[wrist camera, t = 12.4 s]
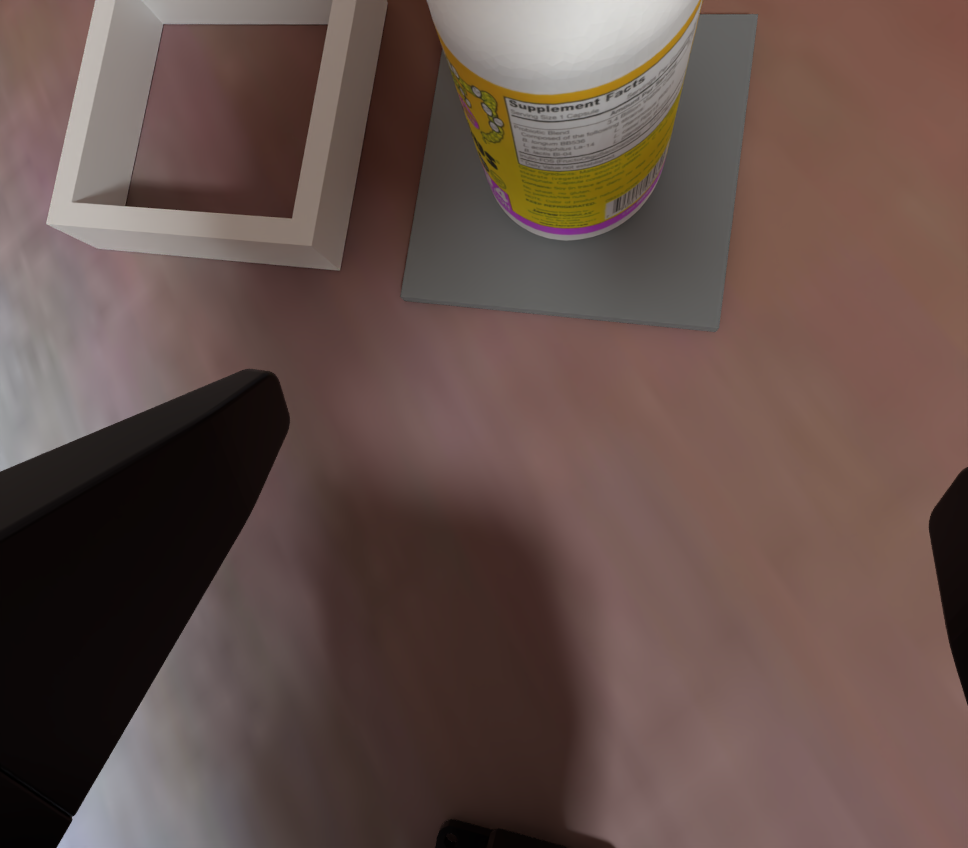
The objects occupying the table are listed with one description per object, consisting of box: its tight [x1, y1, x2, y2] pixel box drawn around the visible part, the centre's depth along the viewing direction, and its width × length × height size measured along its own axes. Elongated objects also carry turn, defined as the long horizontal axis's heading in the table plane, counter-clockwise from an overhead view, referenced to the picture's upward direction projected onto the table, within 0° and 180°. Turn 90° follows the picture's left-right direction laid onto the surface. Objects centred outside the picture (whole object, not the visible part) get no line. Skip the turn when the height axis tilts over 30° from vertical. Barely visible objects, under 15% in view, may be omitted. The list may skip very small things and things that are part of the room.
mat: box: [400, 14, 758, 332], centre depth 22 cm, size 12×12×1 cm
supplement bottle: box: [427, 0, 703, 241], centre depth 15 cm, size 7×7×13 cm
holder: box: [46, 0, 388, 271], centre depth 24 cm, size 12×12×2 cm
